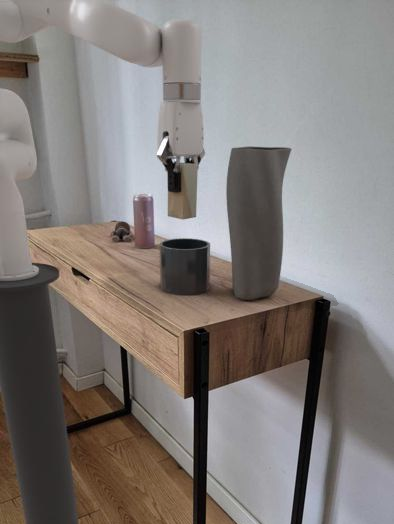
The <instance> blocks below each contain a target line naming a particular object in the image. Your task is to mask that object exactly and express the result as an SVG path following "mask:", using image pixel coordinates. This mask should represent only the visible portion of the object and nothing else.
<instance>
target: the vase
mask: <svg viewBox="0 0 394 524" xmlns="http://www.w3.org/2000/svg"><path fill="white" fill-rule="evenodd" d="M291 153H292V147H283V146H281V147H280V146H276V147H275V146H273V147H272V146H271V147H269V146H241V147H240V146H239V147H232V148H231V149H230V156H229V160H228V166H227V174H226V186H225V187H226V188H225V189H226V192H225V193H226V211H227V223H228V232H229V241H230V242H229V245H230V254H231V255H230V257H231V279H232V280H231V281H232V282H231V283H232V291H233V295H234V297H235V298H236V299H239V300H243V301H254V300H258V299H260V298H265V297H269V296H271V295H273V294H275V292H277V290H278V289H279V286H280V279H281V272H282V264H283V254H284V253H283V252H284V216H283V215H284V214H283V185H284V179H285V174H286V173H285V172H286V168H287V165H288V161H289V159H290V155H291Z"/></svg>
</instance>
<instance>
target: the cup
mask: <svg viewBox="0 0 394 524" xmlns="http://www.w3.org/2000/svg"><path fill="white" fill-rule="evenodd" d="M158 248H159V282H160V283H159V284H160V289H161V290H162V291H163V292H165V293H167V294H171V295H178V296H193V295H199V294H203V293H205V292H208V291H209V289H210V283H211V282H210V278H211V277H210V275H211V274H210V273H211V272H210V271H211V243H210V242H209V241H207V240H204V239H199V238H189V237H188V238H186V237H185V238H184V237H183V238H171V239H166V240H163V241H160V242H159V247H158Z"/></svg>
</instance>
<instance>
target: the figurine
mask: <svg viewBox="0 0 394 524" xmlns="http://www.w3.org/2000/svg"><path fill="white" fill-rule="evenodd" d="M108 238H111V240H112V242H114V243H118V242H120V240H121V241H122V240H123V241H124V242H126V243H128V242H130V241H131V238H135V234H134V231H131V225H130V224H129V223H128V222H126V221H119V222H117V223H116V224H115V227H114V230H113V231H110V232H108Z"/></svg>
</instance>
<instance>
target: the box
mask: <svg viewBox="0 0 394 524" xmlns="http://www.w3.org/2000/svg"><path fill="white" fill-rule="evenodd" d="M198 166H199V165H197V164H190V163H185V162H180V165H179V171H178V172H181V192H179V193H177V192H169V191H168V190H167V217H170V218H173V219H179V220H187V219H194V218H197V205H198V204H197V201H198V172H199V168H198Z"/></svg>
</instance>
